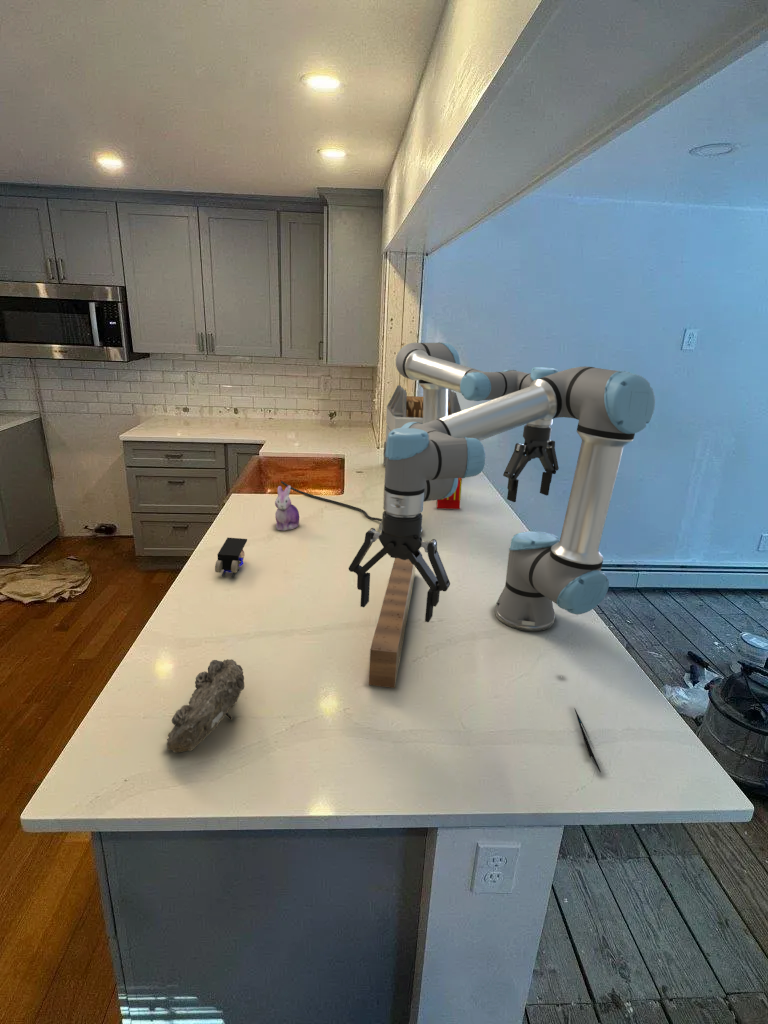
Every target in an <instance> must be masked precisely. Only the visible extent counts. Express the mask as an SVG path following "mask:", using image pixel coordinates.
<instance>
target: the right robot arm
mask: <svg viewBox="0 0 768 1024" xmlns="http://www.w3.org/2000/svg"><path fill="white" fill-rule="evenodd" d="M655 405H656V396H655V392H654V389H653V387H651V383H650V382H649V380H647V379H646V378H645V377H644V376H642V375H640V374H637V373H632V372H630V371H626V370H614V369H609V368H608V369H607V368H601V367H595V366H586V365H585V366H576V367H571V368H568V369H564V370H561V371H559V372H557V373H554V374H551V375H548V376H545V377H542V378H539V379H536V380H534V381H533V382H532V383H531V384H530V386H529V387H527V388H524V389H522V390H519V391H516V392H513V393H510V394H507V395H505V396H502V397H499V398H496V399H493V400H487V401H484V402H482V403H479V404H476V405H473V406H471V407H468V408H465V409H461V411H459V412H456V413H453V414H451V415H448V416H445V417H442V418H439V419H436V420H433V421H430V422H427V423H424V424H422V423H420V422H409V423H406V424H404V425H403V426H402V427H401V428H397V429H393V430H392V431H390V432H389V434H388V438H387V444H386V452H385V457H386V460H385V466H384V468H385V469H384V485H383V501H382V509H383V510H384V511H383V512H382V518H381V519H382V532H379V531H377V530H376V528H374V527H371V528H370V529H368V530H367V531H366V532H365V535H364V540H363V543H362V544H361V546H360V548H359V550H358V552H357V553H356V555H354V558H353V560H352V561H351V563H350V565H349V566H348V571H349V572H350V573H352V572H353V573H355V575H356V576H357V581H356V582H357V583H356V588H357V590H358V591H360V605H359V606H360V608H365V607H366V606H367V604H368V603H369V602H370V587H371V572H368V571H369V570H370V569H371V568H372V567H373V566H374V565H375V564H377V563H378V562H379V561H380V560H381V559H383V558H384V557H385V556H386V555H388V556H389V557H390V558H392V559H395V558H400V559H402V560H406V559H409V560H410V562H411V563H412V564H413V565H414V566H415V569H416V570H417V571H418V573H419V575H420V576H421V577H422V579H423V580H424V582H425V583H426V584H427V586H428V587H429V589H428V590H427V594H426V602H425V603H426V605H425V614H424V615H425V617H424V622H425V623H430V621H431V619H432V618H433V614H434V608H435V607H437V605H438V604H439V603H440V594H441V592H447V591H448V589H449V587H450V586H451V582H450V579H449V577H448V574H447V571H446V569H445V566H444V564H443V561H442V558H441V556H440V553H439V551H438V541H437V539H435V538H432V539H430V540H425V539H423V538H422V535H421V528H422V529H423V514H422V513H423V511H424V503H425V502H424V490H425V481H426V480H438V479H452V478H462V479H466V478H471V477H476V476H478V475H480V474H481V473H482V472H483V470H484V468H485V465H486V458H487V457H486V449H485V447H484V445H483V443H482V441H483V440H486V439H489V438H491V437H494V436H497V435H500V434H503V433H505V432H508V431H510V430H513V429H516V428H518V427H521V426H524V425H525V424H527V423H530V422H533V421H535V420H538V419H541V420H543V421H548V420H551V419H553V420H554V419H557V418H567V419H574V420H578V422H577V427H576V433H577V434H578V436H579V437H580V439H581V442H580V446H579V452H578V457H577V461H576V464H575V465H576V466H575V470H574V474H573V478H572V479H573V480H572V484H571V488H570V493H569V497H568V502H567V505H566V506H567V507H566V511H565V514H564V520H563V525H562V528H561V533H560V538H559V537H558V536H557V535H555V534H553V533H549V532H545V531H522V532H518V533H516V534H514V535H513V536H512V538H511V540H510V545H509V548H508V559H507V565H506V567H507V568H506V574H505V575H506V576H505V585H504V587H503V589H502V590H501V593H500V595H499V597H498V599H497V601H496V603H495V607H494V615H495V617H496V619H497V620H498V621H499V622H501V623H502V624H504V625H505V626H508V627H510V628H512V629H516V630H520V631H525V632H540V631H546V630H548V629H550V628H551V627H552V626H553V625H554V623H555V619H556V614H555V613H556V612H555V609H554V604H555V605H557V607H559V608H560V609H563V610H565V611H567V612H568V613H570V614H572V615H583V614H587V613H590V612H591V611H592V610H594V609H595V608H596V607H597V606H599V605H600V604H601V602H602V601H603V600H604V599H605V597H606V595H607V594H608V591H609V587H610V580H609V578H608V575H606V573H605V572H604V571H602V568H603V563H604V556H603V555H602V553H601V552H600V550H599V549H600V545H601V541H602V537H603V532H604V529H605V525H606V521H607V517H608V513H609V509H610V504H611V502H612V501H611V500H612V497H613V493H614V488H615V484H616V480H617V476H618V473H619V468H620V464H621V460H622V454H623V451H624V448H625V447H626V446H627V445H629V444H630V443H632V442H633V441H634V439H635V435H636V434H637V433H640V432H641V431H643V430H644V429H645V428H647V424H649V423H650V422H651V420H652V418H653V416H654V413H655ZM377 540H379V542H380V544H381V546H382V548H381V549H380V550H379V551H378V552H377V553H376V554H375V555H373V556H372V557H371V558H369V560H368V561H367V562H365V564H363V565H361V563H362V561H363V559H364V557H366V555H367V553H368V551H369V550H370V548H371V547H372V545H373V544H374V543H376V541H377ZM421 548H423V549H424V552H425V553H427V557H428V560H429V562H430V565H431V567H430V565H428V563H427V562H426V560H425V558H424V557H423V554H422V552H421V551H420V549H421ZM414 555H415V556H414ZM431 568H432V569H431ZM553 603H554V604H553Z"/></svg>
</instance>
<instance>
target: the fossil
mask: <svg viewBox="0 0 768 1024" xmlns="http://www.w3.org/2000/svg"><path fill="white" fill-rule="evenodd" d="M243 670H244V669H243V667H242V665H240V664H237V662H236V661H235V660H234V659H232V658H231V659H227V658H226V659H224V660H223V661H222V660H217V659H212V660H211V661H210V663H209V665H208V666H207V671H201V672H199V673H198V674H197V675H196V676H195V680H194V684H195V685H194V687H195V689H194V690H193V693H192V694H191V697H190V698H189V700H188V704H184V705H182V706H181V707H180V709H177V710H176V711H175V713H174V715H173V716H172V718H171V723H172V724H173V727H172V730H171V731H170V732H168V734H167V738H166V741H167V742H166V745H167V749H168V750H169V751H173V752H174V753H176V754H178V753H182V752H188V751H189V752H192V751H193V750H195V748H196V747H197V746H199V744H200V743H201V742H203V741H204V740H205V739H206V738H207V737H208V736H209V735H210V734H211V733H212V732H214V730H215V729H217V727H218V726H219V724H220V722H221V721H222V720H223V719H224V718H225V716H226V717H227V719H229V720H233V717H232V715H230V714H229V710H230V709H231V708H234V706H235V704H236V703H237V702H238V699H239V697H240V695H241V693H242V691H243V690H245V689H244V688H245V675H244V671H243Z"/></svg>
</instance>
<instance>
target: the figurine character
mask: <svg viewBox="0 0 768 1024" xmlns="http://www.w3.org/2000/svg"><path fill="white" fill-rule="evenodd" d="M247 542H248V538H240V537H226V539H225V541H224V543H223V544H222V546H221V547H220V549H219V551H218V552H217V560H216V562H215V564H214V572H215V573H221V577H222V578H224V577H225V576H226V574H227V573H230V574H231V573H232V574H231V578H234V577H235V575H236V573H237V572H239V571H240V567H242V566H243V565H244V564H245V562H244V558H245V551H244V547H245V546H246V544H247Z"/></svg>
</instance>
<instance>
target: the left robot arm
mask: <svg viewBox="0 0 768 1024" xmlns="http://www.w3.org/2000/svg"><path fill="white" fill-rule="evenodd" d="M395 367H396V370H397V372H398V373H399V374H400V376H402V377H404V378H406V379H408V380H412V381H418V385H419V386H420V387H421V388H422V397H423V424H424V423H427V422H430V421H433V420H436V419H439V418H442V417H445V416H448V389H450V390H451V391H452V392H453V391H454V392H455V393H459V394H461V396H463V399H465V400H467V401H474V402H481V401H490V400H493V399H496V398H499V397H502V396H505V395H507V394H510V393H513V392H516V391H519V390H522V389H524V388H527V387H529V386H530V384H531V383H532V382H533V381H534V380H536V379H539V378H542V377H545V376H548V375H551V374H554V373H557V372H560V371H559V369H557V368H553V367H546V366H545V367H541V366H536V367H533V368H532V369H531V372H524V371H519V370H516V369H503V370H502V371H483V370H480V369H476V368H473V367H469V366H466V365H463V364H461V357H460V354H459V352H458V350H457V349H456V347H455V346H454V345H453V344H450V343H447V342H440V341H439V342H411V343H407V344H405V345H403V346H402V347H401V348H400V349H399V350H398V352H397V354H396V357H395ZM553 421H554V419H551V420H548V421H543V420H541V419H538V420H535V421H533V422H530V423H527V424H524V425H523V431H522V438H523V439H524V442H523V443H518V442H516V443H515V444H514V450H513V452H512V454H511V457H510V458H509V461H508V462H507V465H506V468H505V470H504V471H503V474H502V476H503V477H505V478H507V487H506V488H507V496H506V500H507V501H509V502H512V503H516V502H517V495H518V488H519V481H520V480H519V479H518V477H520V475H521V473H522V472H523V470H524V469H525V467H526V466H527V464H528V463H529V462H530V461H532V460H535V459H536V458H537V459H539V461H540V463H541V465H542V468H543V469H544V471H542V475H541V481H540V487H539V494H541V495H544V496H549V494H550V489H551V488H550V486H551V483H552V478H553V475H556V473H557V471H559V463H558V457H557V453H556V441H555V440H551V437H552V430H553V428H552V427H551V426H552V425H553ZM280 484H282V485H284V486H285V488H286V487H287V486H288V485H289V484H288V483H286V482H285V481H283V480H281V481H280ZM457 485H458V478H452V479H438V480H426V481H425V490H424V502H423V503H426V502H431V501H437V499H438V500H441V499H444V498H447V497H450V496H451V495H452V494H453V493H454V492H455V490H456V488H457ZM291 490H292V491H294V492H296V493H299V494H301V495H304V496H307V497H310V498H313V499H317V500H321V501H325V502H328V503H332V504H335V505H339V506H343V507H345V508H349V509H353V510H356V511H359V512H360V513H362V514H363V515H364V517H366V518H367V519H368V520H372V521H378V522H379V525H378V532H382V518H380V517H373V516H370V515H368V513H367V511H365V510H364V509H362V508H360V507H358V506H354V505H350V504H347V503H345V502H340V501H337V500H332V499H329V498H326V497H321V496H318V495H313V494H311V493H308V492H305V491H302V490H299V489H297V488H294V487H293V486H291ZM422 535H423V527H422V528H421V536H422Z"/></svg>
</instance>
